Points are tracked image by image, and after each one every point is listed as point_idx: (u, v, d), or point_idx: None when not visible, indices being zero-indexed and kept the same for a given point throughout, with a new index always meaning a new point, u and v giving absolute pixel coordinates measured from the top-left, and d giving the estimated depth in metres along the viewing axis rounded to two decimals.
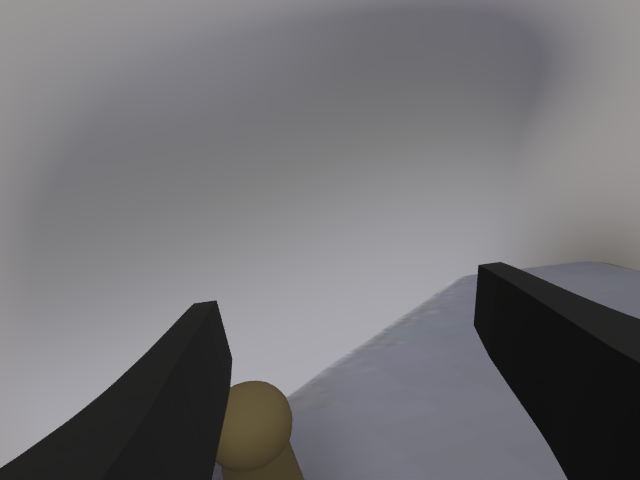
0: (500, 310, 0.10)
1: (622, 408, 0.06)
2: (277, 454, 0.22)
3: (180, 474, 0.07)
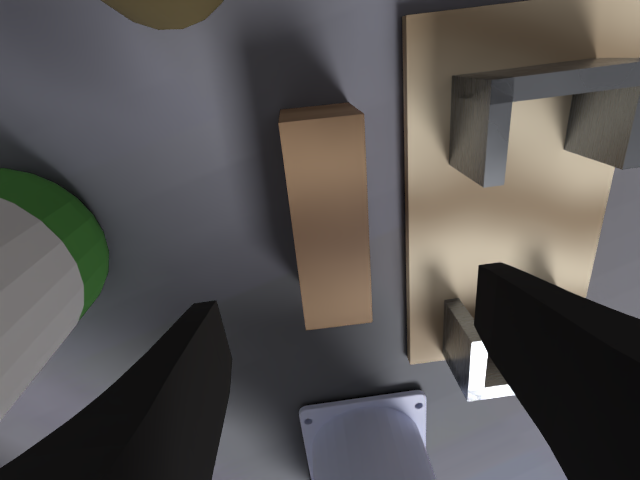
0: (500, 310, 0.10)
1: (621, 408, 0.06)
2: None
3: (180, 474, 0.07)
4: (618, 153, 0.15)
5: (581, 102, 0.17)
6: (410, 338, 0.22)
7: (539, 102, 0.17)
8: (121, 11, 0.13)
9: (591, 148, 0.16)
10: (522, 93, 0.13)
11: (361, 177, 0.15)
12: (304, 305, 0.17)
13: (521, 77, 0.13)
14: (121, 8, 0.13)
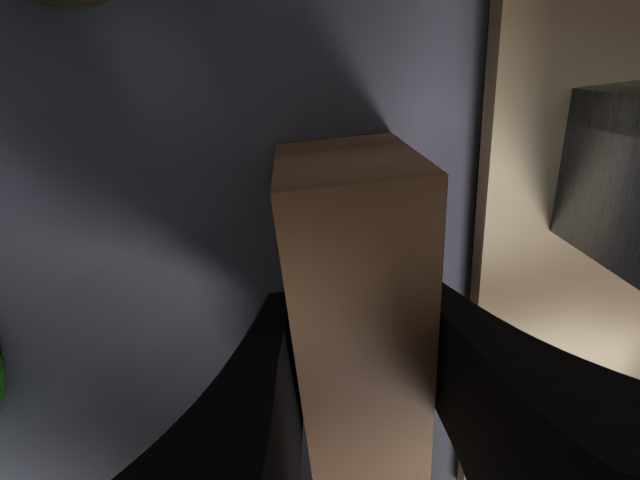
0: None
1: (498, 426, 0.06)
2: None
3: (290, 458, 0.07)
4: None
5: None
6: None
7: None
8: None
9: None
10: None
11: (432, 289, 0.08)
12: None
13: None
14: None
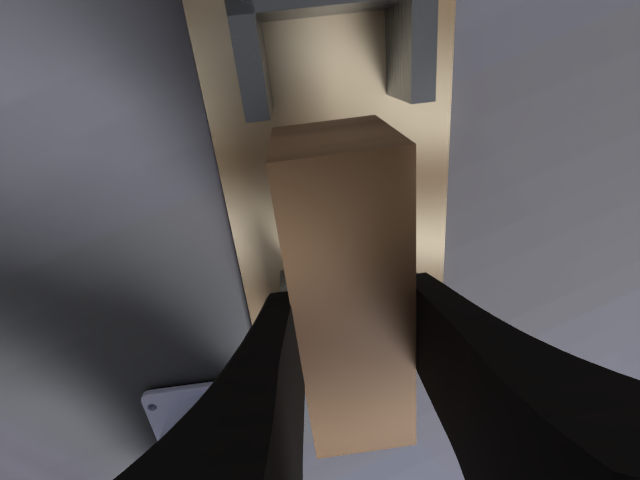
0: (418, 321, 0.09)
1: (496, 426, 0.06)
2: None
3: (292, 458, 0.07)
4: (408, 85, 0.13)
5: (389, 34, 0.14)
6: (250, 314, 0.20)
7: (347, 35, 0.15)
8: None
9: (397, 86, 0.14)
10: (264, 2, 0.11)
11: (408, 246, 0.09)
12: (314, 428, 0.11)
13: None
14: None
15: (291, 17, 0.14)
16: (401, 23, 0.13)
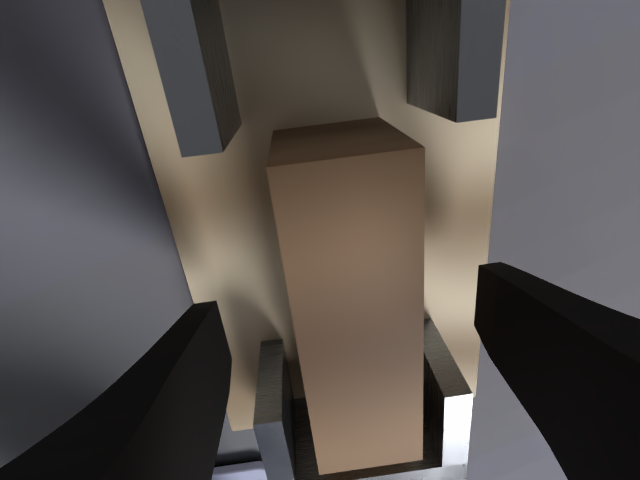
0: (500, 310, 0.10)
1: (622, 408, 0.06)
2: None
3: (180, 474, 0.07)
4: (450, 92, 0.08)
5: (413, 11, 0.09)
6: None
7: (348, 16, 0.10)
8: None
9: (427, 92, 0.09)
10: None
11: (416, 254, 0.08)
12: (316, 443, 0.11)
13: None
14: None
15: None
16: None
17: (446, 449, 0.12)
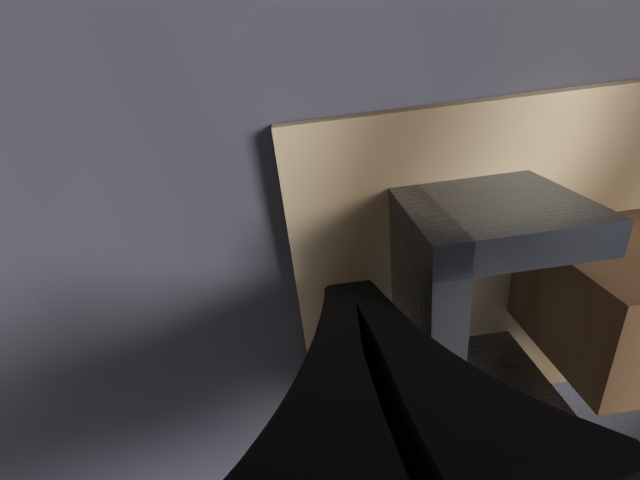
0: None
1: (401, 440, 0.06)
2: None
3: None
4: None
5: None
6: None
7: None
8: None
9: None
10: None
11: None
12: None
13: None
14: None
15: None
16: None
17: None
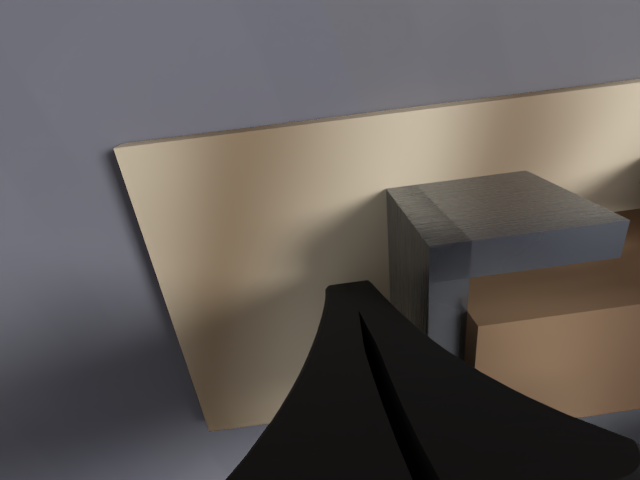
0: None
1: (399, 440, 0.06)
2: None
3: None
4: None
5: None
6: None
7: (298, 275, 0.11)
8: None
9: None
10: None
11: (591, 317, 0.08)
12: None
13: None
14: None
15: None
16: None
17: None
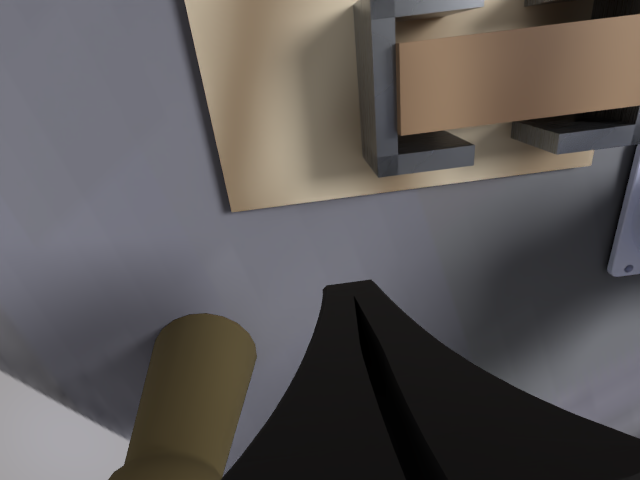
0: (358, 329, 0.09)
1: (404, 440, 0.06)
2: (202, 468, 0.15)
3: None
4: (463, 9, 0.13)
5: (397, 21, 0.15)
6: (552, 169, 0.19)
7: (295, 73, 0.17)
8: None
9: (451, 13, 0.15)
10: (391, 146, 0.15)
11: (466, 41, 0.13)
12: (608, 107, 0.14)
13: (377, 151, 0.15)
14: None
15: None
16: (403, 18, 0.14)
17: None
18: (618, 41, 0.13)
